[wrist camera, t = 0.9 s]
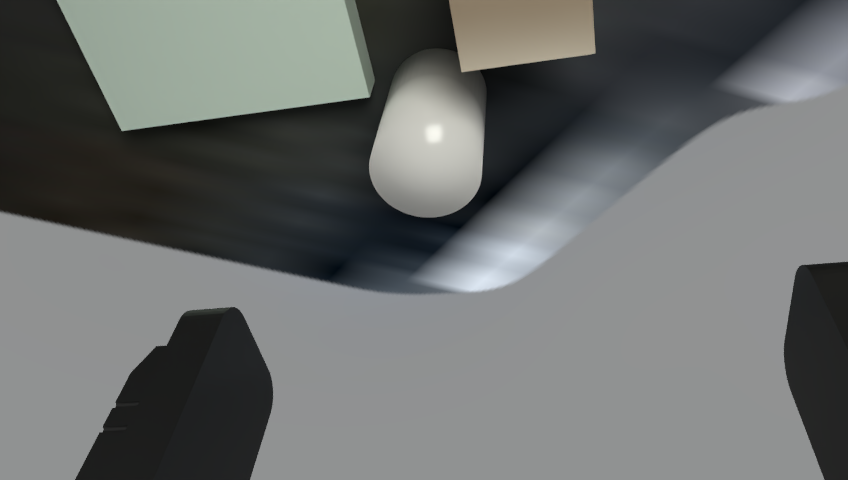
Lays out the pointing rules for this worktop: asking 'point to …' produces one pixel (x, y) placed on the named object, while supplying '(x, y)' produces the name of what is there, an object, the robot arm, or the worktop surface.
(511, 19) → the ash block
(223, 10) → the cutting board
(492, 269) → the worktop surface
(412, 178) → the ceramic jar
